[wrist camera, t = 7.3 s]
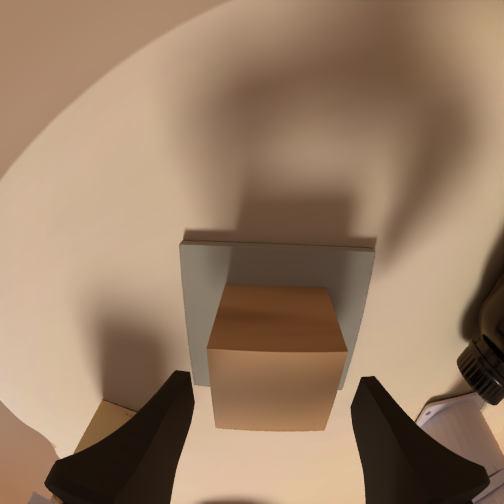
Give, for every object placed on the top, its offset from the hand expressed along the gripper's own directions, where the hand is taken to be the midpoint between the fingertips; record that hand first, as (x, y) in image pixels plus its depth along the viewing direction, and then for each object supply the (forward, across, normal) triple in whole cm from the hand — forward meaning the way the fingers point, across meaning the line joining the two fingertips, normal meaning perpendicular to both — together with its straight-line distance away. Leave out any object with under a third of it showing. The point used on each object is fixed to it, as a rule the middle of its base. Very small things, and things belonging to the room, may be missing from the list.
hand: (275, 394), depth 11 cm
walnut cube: (+4, 0, 0) cm, 5 cm away
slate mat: (+5, 0, 0) cm, 5 cm away
